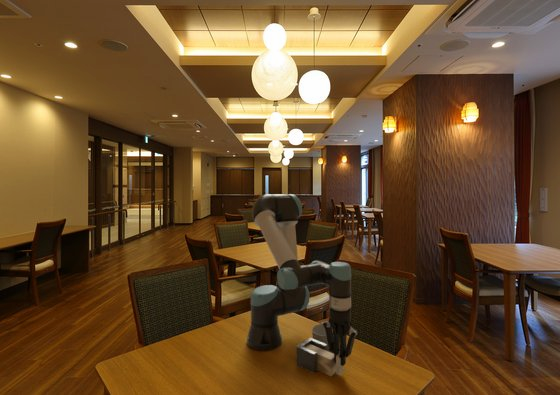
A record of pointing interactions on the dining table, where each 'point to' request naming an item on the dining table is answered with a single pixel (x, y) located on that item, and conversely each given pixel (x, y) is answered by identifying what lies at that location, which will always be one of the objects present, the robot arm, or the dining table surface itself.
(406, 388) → the dining table surface
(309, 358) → the end cap
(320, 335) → the teacup
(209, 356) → the dining table surface
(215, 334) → the dining table surface
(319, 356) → the beige marbled block
